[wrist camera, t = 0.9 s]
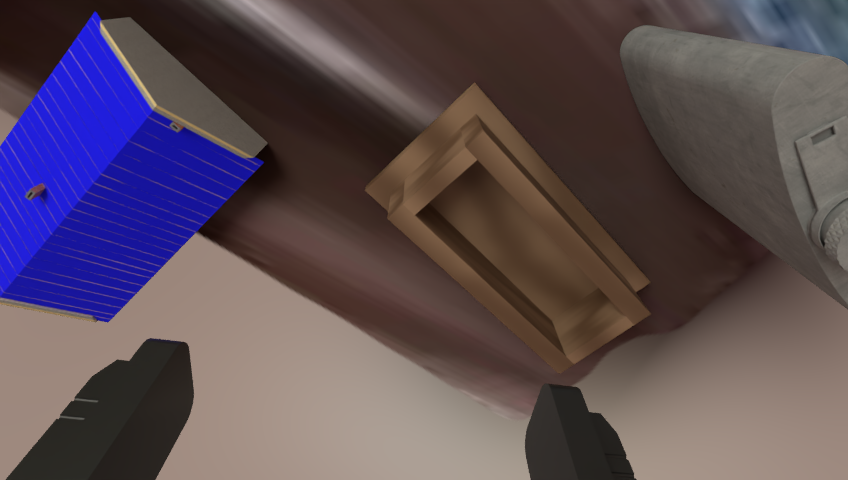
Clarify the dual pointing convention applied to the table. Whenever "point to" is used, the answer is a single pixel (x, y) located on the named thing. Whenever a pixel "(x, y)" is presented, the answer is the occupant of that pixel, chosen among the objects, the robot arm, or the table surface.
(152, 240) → the blue slatted box
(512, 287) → the walnut open box
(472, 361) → the table surface
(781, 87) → the hip flask
